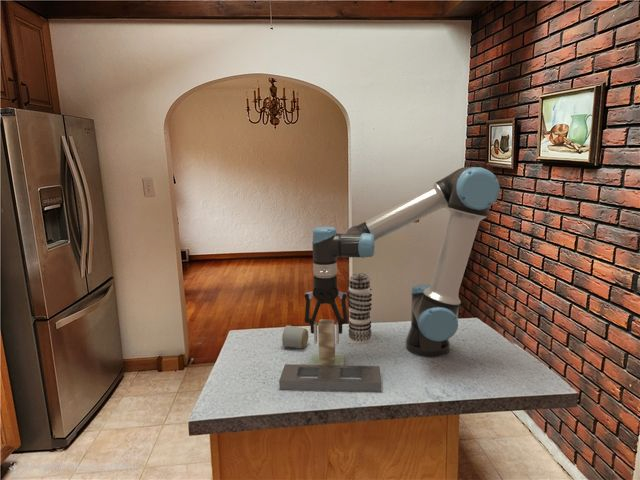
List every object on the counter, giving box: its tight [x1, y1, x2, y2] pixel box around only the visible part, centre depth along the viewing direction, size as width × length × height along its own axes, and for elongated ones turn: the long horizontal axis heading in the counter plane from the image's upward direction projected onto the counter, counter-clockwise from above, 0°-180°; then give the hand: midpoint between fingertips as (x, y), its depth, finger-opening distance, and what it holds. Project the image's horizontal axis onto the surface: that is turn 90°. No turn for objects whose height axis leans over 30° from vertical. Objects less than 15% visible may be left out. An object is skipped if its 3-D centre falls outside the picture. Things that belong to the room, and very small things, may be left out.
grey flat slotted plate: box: [278, 363, 383, 393], centre depth 127 cm, size 30×10×3 cm, turn 85°
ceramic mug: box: [281, 324, 309, 349], centre depth 153 cm, size 11×8×8 cm
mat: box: [309, 353, 345, 365], centre depth 139 cm, size 11×11×1 cm
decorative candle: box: [346, 272, 373, 344], centre depth 155 cm, size 9×9×25 cm
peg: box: [317, 318, 336, 365], centre depth 137 cm, size 5×5×14 cm
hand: (326, 342), depth 137 cm, fingers open, 7 cm apart
